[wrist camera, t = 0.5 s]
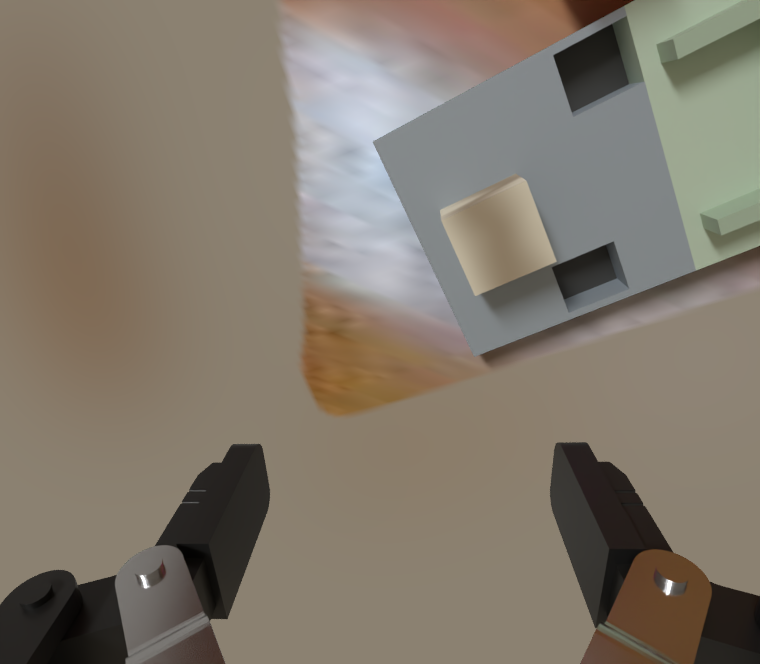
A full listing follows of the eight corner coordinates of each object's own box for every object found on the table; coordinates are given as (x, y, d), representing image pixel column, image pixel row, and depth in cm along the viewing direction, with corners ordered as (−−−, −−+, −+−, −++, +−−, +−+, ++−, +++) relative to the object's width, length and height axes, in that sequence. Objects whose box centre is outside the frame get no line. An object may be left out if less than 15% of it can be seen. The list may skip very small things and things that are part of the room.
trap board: (739, -57, 26) (797, -89, 22) (791, 214, 31) (845, 229, 27) (376, 139, 32) (369, 143, 28) (471, 341, 37) (476, 370, 33)
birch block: (515, 173, 30) (526, 180, 26) (543, 246, 31) (556, 261, 28) (440, 209, 31) (441, 220, 28) (470, 278, 32) (475, 296, 29)
